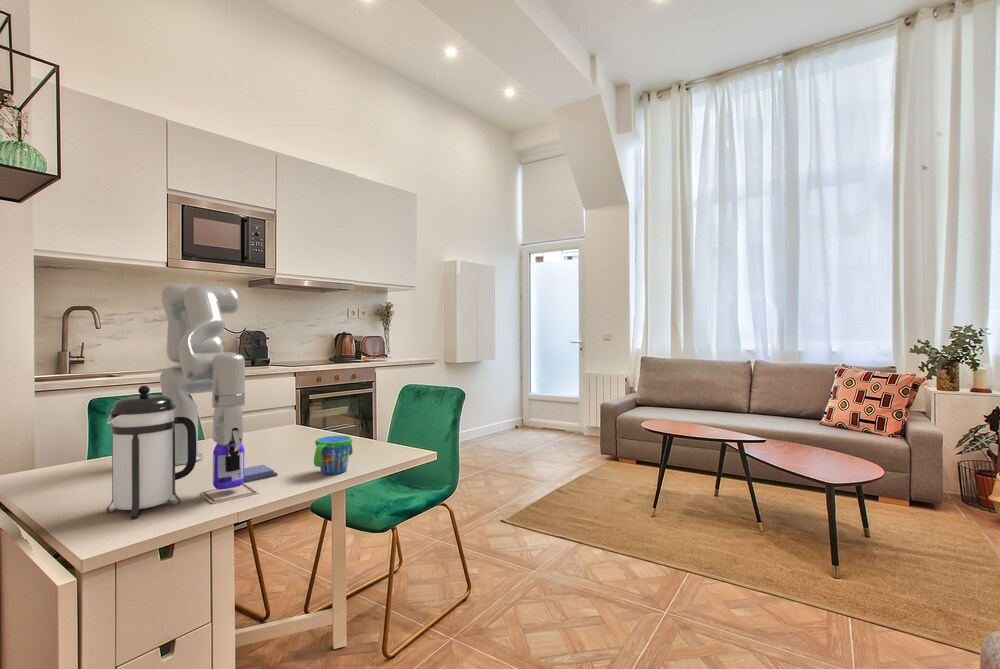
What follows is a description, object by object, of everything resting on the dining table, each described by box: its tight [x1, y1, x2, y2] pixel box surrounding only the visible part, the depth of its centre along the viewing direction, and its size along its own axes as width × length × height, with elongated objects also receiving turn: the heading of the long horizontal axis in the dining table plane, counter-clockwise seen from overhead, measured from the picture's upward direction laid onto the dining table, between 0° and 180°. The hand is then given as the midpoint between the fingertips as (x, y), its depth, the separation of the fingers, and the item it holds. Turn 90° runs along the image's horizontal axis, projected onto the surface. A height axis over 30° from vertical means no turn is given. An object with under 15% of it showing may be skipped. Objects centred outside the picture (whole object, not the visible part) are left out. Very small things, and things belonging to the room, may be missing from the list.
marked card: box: [199, 482, 259, 505], centre depth 127 cm, size 11×11×1 cm
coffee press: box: [105, 385, 197, 520], centre depth 118 cm, size 17×16×30 cm
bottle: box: [212, 441, 245, 490], centre depth 128 cm, size 7×6×17 cm
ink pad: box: [242, 464, 278, 484], centre depth 143 cm, size 10×10×2 cm
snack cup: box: [313, 435, 353, 475], centre depth 147 cm, size 16×10×10 cm
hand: (228, 467), depth 128 cm, fingers closed on bottle, 5 cm apart
